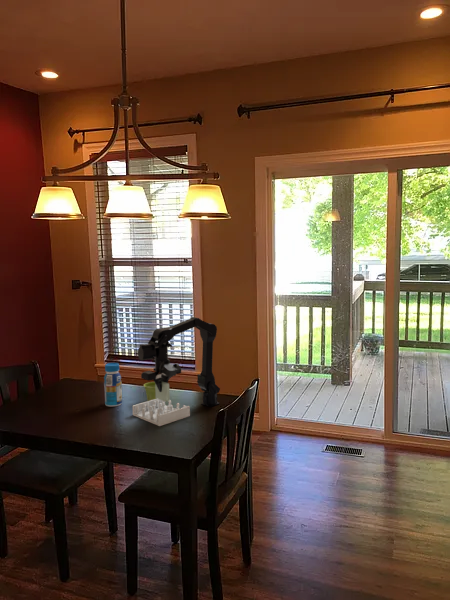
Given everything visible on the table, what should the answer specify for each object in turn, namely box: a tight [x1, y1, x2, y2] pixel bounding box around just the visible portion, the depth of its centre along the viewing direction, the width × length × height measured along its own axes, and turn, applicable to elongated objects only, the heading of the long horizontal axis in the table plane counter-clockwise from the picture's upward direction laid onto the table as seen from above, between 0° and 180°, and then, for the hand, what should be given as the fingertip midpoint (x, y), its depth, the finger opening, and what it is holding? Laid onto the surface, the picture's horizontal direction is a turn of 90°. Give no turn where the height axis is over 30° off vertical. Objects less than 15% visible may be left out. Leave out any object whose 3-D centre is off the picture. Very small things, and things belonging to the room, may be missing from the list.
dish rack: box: [132, 398, 191, 427], centre depth 216 cm, size 17×20×4 cm
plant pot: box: [143, 381, 157, 401], centre depth 236 cm, size 9×9×9 cm
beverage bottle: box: [103, 362, 123, 408], centre depth 232 cm, size 8×8×20 cm
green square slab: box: [155, 381, 171, 403], centre depth 215 cm, size 2×8×8 cm, turn 46°
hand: (162, 391), depth 215 cm, fingers closed on green square slab, 2 cm apart
